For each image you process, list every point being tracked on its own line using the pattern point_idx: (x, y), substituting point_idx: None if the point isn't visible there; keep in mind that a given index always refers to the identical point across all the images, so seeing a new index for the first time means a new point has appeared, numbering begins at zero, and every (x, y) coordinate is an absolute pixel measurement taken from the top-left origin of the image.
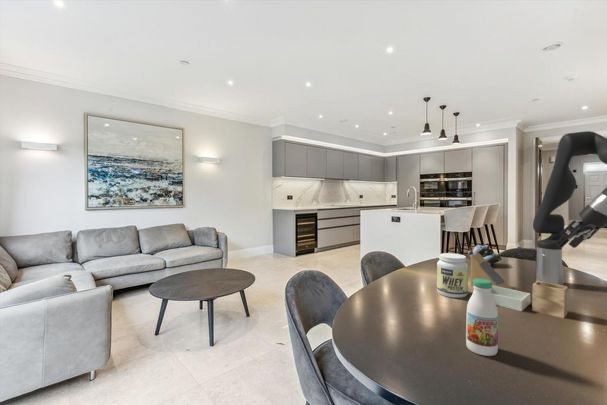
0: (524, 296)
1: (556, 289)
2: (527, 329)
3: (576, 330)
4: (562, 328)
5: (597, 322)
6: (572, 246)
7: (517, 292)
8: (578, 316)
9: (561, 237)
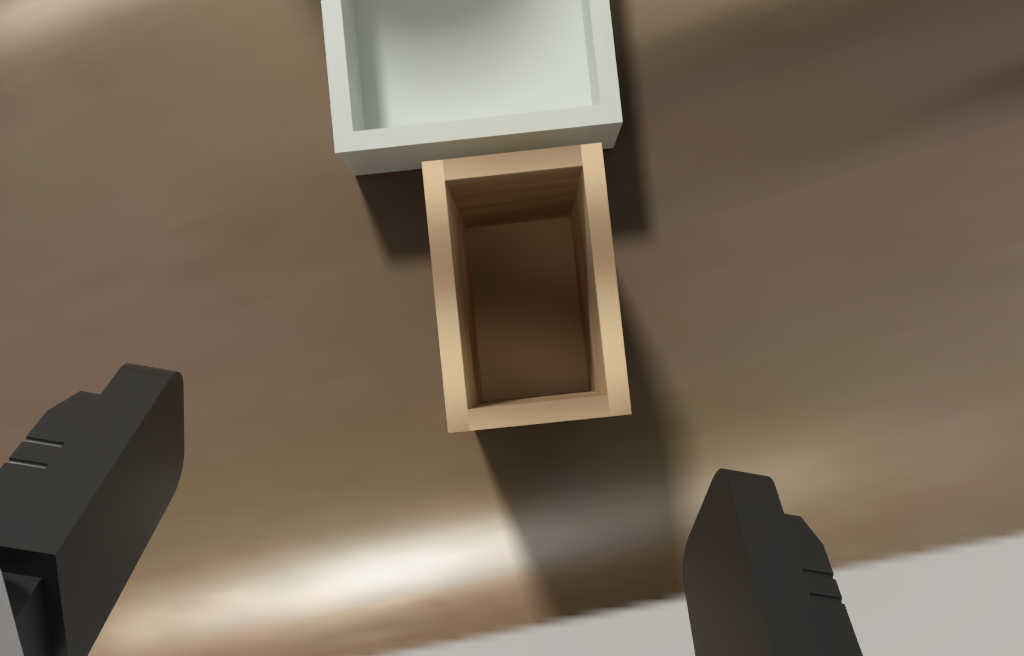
0: (479, 122)
1: (443, 367)
2: (24, 330)
3: (283, 540)
4: (242, 471)
5: (582, 594)
6: (694, 536)
7: (590, 29)
8: (606, 476)
9: (22, 511)
